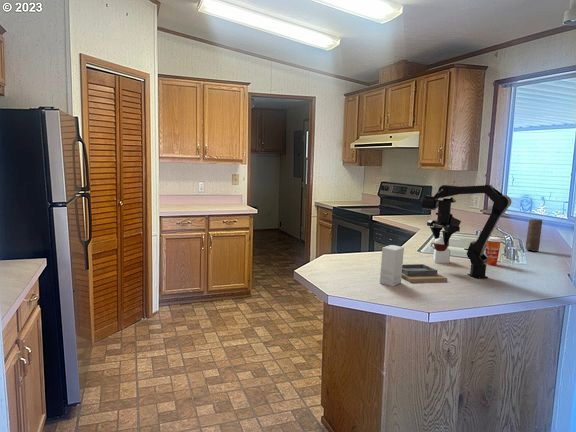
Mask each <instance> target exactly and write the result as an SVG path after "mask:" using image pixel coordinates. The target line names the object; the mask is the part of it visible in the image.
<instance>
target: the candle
mask: <svg viewBox="0 0 576 432" xmlns="http://www.w3.org/2000/svg"><path fill="white" fill-rule="evenodd" d="M542 225H543V219H541V218H539V219H538V218H537V219H535V218H534V219H532V218H531V219H529V220H528V227H527V235H526V240H525V241H526V242H525V248H524V249H525V250H526V249H527V250H532V251H531V252H539V250H540V243H541V237H542V236H541V235H542V227H543V226H542ZM527 250H526V251H527Z"/></svg>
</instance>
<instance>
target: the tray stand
mask: <svg viewBox="0 0 576 432" xmlns="http://www.w3.org/2000/svg"><path fill="white" fill-rule="evenodd" d="M438 272H439V271H438V269H435V268H433V267H430V266H429V265H426V264H423V263H421V264H420V263H416V264H415V263H412V264H411V263H410V264H407V263H406V264H402V276H401V279H403V280H405V281H406V282H408V283H437V282H438V283H439V282H440V283H441V282H442V283H443V282H448V277H447V276H443V275H441V274H440V273H438Z"/></svg>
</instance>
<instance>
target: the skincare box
mask: <svg viewBox="0 0 576 432" xmlns="http://www.w3.org/2000/svg"><path fill="white" fill-rule="evenodd" d="M404 250H405V247H404V246H399V245H395V244H389V245H386V246H384V247H382V252H381V263H380V272H379V273H380V274H379V284H380V285H386V286H389V287H395V286H397V285H399V284H401V283H402V278H401V276H402V265H404V264H403V263H404Z"/></svg>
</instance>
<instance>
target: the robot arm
mask: <svg viewBox="0 0 576 432" xmlns="http://www.w3.org/2000/svg"><path fill="white" fill-rule="evenodd" d="M472 194H473V195H475V194H485V195H486V196H487V197H488V198H489V199H490V201H492V202H493V204H492V207H491V212H490V215H489V216H488V218H487V221H486V222H485V224H484V227H483V228H482V230H481V231H480V234H479V235H478V237H477V238H476V241H471V242H470V243H469V245H468V248H467V249H466V256H467V258H468V259H469V262H470V269H469V270H470V271H469V273H467V276H469V277H471V278H475V279H488V278H489V276H486V271H487V264H485V263H487V261H488V258H487V257H486V256H485V247H486V243H487V241H488V239H489V237H491V235H492V233H493V231H494V229H495V228H496V226H497V224H498V222H499V220H500V219H501V217H502V216H503V214H505V212H506V211H507V210H508V209H509V208H510V206H511V205H512V199H511V198H510V196H508V195H505V194H503V193H502V192H501V191H499V190H498V189H496V188H495V187H494V186H493V185H492V184H483V185H482V184H481V185H462V186H460V185H453V184H443V185H440V186H439V188H438V191H437V192H436V193H435V194H434V196H433V195H428V194H427V195H424V196H423V199H422V202H421V208H422V210H431V211H436V209H437V212H435V216H436V217H437V218H436V219H428V221H426V226H428V227H429V229H430V230H431V233H432V236H433V238H434V240H435V239H437V238H440V237H441V235H442V238H443V240H444V245H447V243H448V241H449V242H450V239H451V238H452V236H453V234H455V233H457V232H460V230H461V227H460V225H461V223H462V220H460V219H458V218H456V217H454V216H453V213H452V212H451V210H452V204H453V203H456V202H457V200H455V198H454V197H455V196H458V195H472ZM449 197H450V198H449ZM441 232H442V234H441ZM440 234H441V235H440Z"/></svg>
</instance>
